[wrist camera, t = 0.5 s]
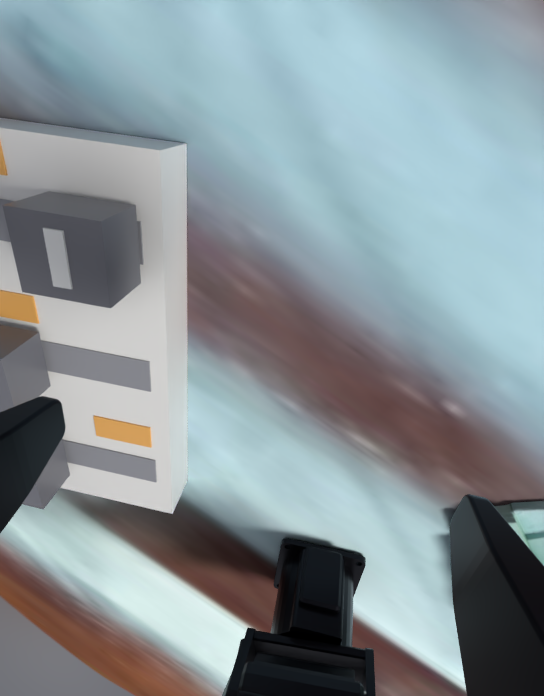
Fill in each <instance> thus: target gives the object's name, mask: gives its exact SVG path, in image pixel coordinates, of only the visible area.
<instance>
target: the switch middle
mask: <svg viewBox="0 0 544 696" xmlns="http://www.w3.org/2000/svg"><path fill="white" fill-rule="evenodd" d="M50 386H51V385H50V380H49V375H48V371H47V366H46V362H45V357H44V352H43V348H42V343H41V339H40V334H39V332H36V331H31V330H26V329H21V328H16V327H11V326H6V325H1V324H0V412H2V411H5V410H7V409H9V408H12V407H14V406H17V405H19V404H22V403H24V402H27V401H29V400H32V399H34V398H37V397H39V396H40V395H41V394H42V393H44V392H45V391H46V390H47V389H48V388H49V387H50Z"/></svg>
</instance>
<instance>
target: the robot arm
mask: <svg viewBox="0 0 544 696" xmlns="http://www.w3.org/2000/svg"><path fill="white" fill-rule="evenodd" d="M65 427H66V426H65V420H64V414H63V408H62V403H61V402H60V401H59V400H58V399H55V398H50V397H46V396H40V397H37V398H34V399H32V400H29V401H27V402H24V403H22V404H19V405H17V406H14V407H12V408H9V409H7V410H5V411H2V412H0V533H1V532H2V530H3V529H4V528H5V526H6V525H7V524H8V522H9V521H10V519H11V518H12V517H13V515H14V514H15V513H16V511H17V510H18V509H19V507H20V506H21V505H22V503H23V502H24V500H25V499H26V497H27V496H28V495H29V493H30V491H31V490H32V488H33V487H34V485H35V483H36V482H37V480H38V478H39V477H40V475H41V473H42V472H43V470H44V468H45V467H46V465H47V463H48V461H49V460H50V458H51V456H52V455H53V453H54V451H55V450H56V448H57V446H58V445H59V443H60V441H61V440H62V438H63V436H64V433H65ZM450 548H451V570H452V592H453V605H454V613H455V620H456V626H457V633H458V639H459V646H460V652H461V658H462V665H463V671H464V678H465V684H466V691H467V696H544V565H543V564H542V563H541V562H540V561H539V559H538V558H537V557H536V556H535V555H534V553H533V552H532V551H531V550H530V549H529V547H528V546H527V545H526V544H525V543H524V541H523V540H522V539H521V538H520V537H519V535H518V534H517V533H516V532H515V531H514V529H513V528H512V527H511V526H510V525H509V524H508V522H507V521H506V520H505V519H504V518H503V516H502V515H501V514H500V513H499V512H498V510H497V509H496V508H495V507H494V506H493V504H492V503H491V502H490V501H489V500H488V499H486V498H483V497H479V496H475V495H470V494H467V495H465V496H464V497H463V498H462V500H461V502H460V504H459V506H458V508H457V509H456V511H455V513H454V515H453V517H452V519H451V522H450ZM364 568H365V557H363V556H361V555H357V554H353V553H349V552H345V551H340V550H336V549H332V548H327V547H323V546H319V545H315V544H310V543H306V542H302V541H298V540H293V539H289V538H285V539H283V540H282V544H281V549H280V554H279V559H278V565H277V570H276V575H275V580H274V587H275V588H277V589H278V594H277V600H276V605H275V611H274V617H273V623H272V629H271V633H267V632H261V631H256V629H253V628H248V629H247V632H246V635H245V638H244V639H242V640H241V642H240V646H239V651H238V655H237V658H236V662H235V665H234V668H233V671H232V674H231V676H230V678H229V681H228V683H227V685H226V688H225V690H224V692H223V694H222V696H375V675H374V653H373V649H370V648H365V649H360V648H354V647H352V625H353V596H354V594H355V591H356V589H357V586H358V583H359V581H360V578H361V576H362V573H363V570H364Z"/></svg>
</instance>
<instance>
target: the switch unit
mask: <svg viewBox="0 0 544 696" xmlns="http://www.w3.org/2000/svg"><path fill="white" fill-rule="evenodd" d="M48 191H51V192H58V193H64V194H70V195H77V196H83V197H89V198H96V199H102V200H108V201H115V202H121V203H128V204H134V205H136V214H137V230H138V245H139V260H140V275H141V284H139V285H138V286H137V287H136V288H135V289H133V290H132V291H131V292H130V293H129V294H128V295H126V296H125V297H124V298H123V299H122V300H120V301H119V302H118V303H117V304H116V305H114V306H113V307H112V308H106V307H100V306H95V305H89V304H84V303H78V302H73V301H68V300H62V299H57V298H51V297H46V296H41V295H35V294H30V293H24V292H22V289H21V285H20V280H19V276H18V271H17V267H16V263H15V258H14V254H13V250H12V245H11V241H10V236H9V232H8V228H7V223H6V219H5V215H4V210H3V206H2V205H5V204H8V203H11V202H15V201H18V200H21V199H25V198H28V197H31V196H35V195H38V194H41V193H45V192H48ZM0 324H1V325H6V326H11V327H16V328H21V329H26V330H31V331H36V332H39V334H40V339H41V343H42V348H43V352H44V357H45V362H46V366H47V371H48V375H49V380H50V385H51V386H50V387H49V388H48V389H47V390H46V391H45V392H44V393H42V394H41V395H40V396H46V397H50V398H55V399H58V400H59V401H60V402H61V403H62V408H63V414H64V420H65V426H66V427H65V433H64V436H63V438H62V440H63V444H64V449H65V453H66V458H67V463H68V467H69V472H70V476H69V477H68V478H67V479H66V481H65V482H64V483H63V485H62V486H61V487H60V488H64V489H68V490H72V491H77V492H81V493H85V494H89V495H94V496H98V497H102V498H106V499H111V500H115V501H119V502H123V503H128V504H132V505H136V506H140V507H145V508H149V509H153V510H158V511H162V512H166V513H170V514H173V512H174V510H175V507H176V505H177V503H178V501H179V499H180V496H181V494H182V492H183V490H184V488H185V486H186V483H187V481H188V406H187V143H179V142H172V141H165V140H158V139H151V138H143V137H136V136H129V135H122V134H115V133H108V132H100V131H93V130H86V129H79V128H72V127H64V126H57V125H50V124H43V123H36V122H29V121H21V120H14V119H7V118H0ZM40 396H39V397H40Z"/></svg>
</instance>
